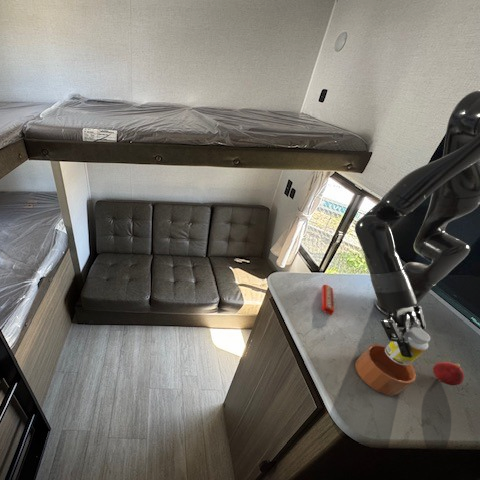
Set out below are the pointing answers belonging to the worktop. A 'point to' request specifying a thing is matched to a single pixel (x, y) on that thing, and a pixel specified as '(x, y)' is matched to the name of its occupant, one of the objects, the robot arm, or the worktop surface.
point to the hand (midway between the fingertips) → (414, 352)
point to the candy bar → (327, 299)
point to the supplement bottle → (417, 343)
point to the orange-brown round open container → (383, 371)
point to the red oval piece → (448, 373)
